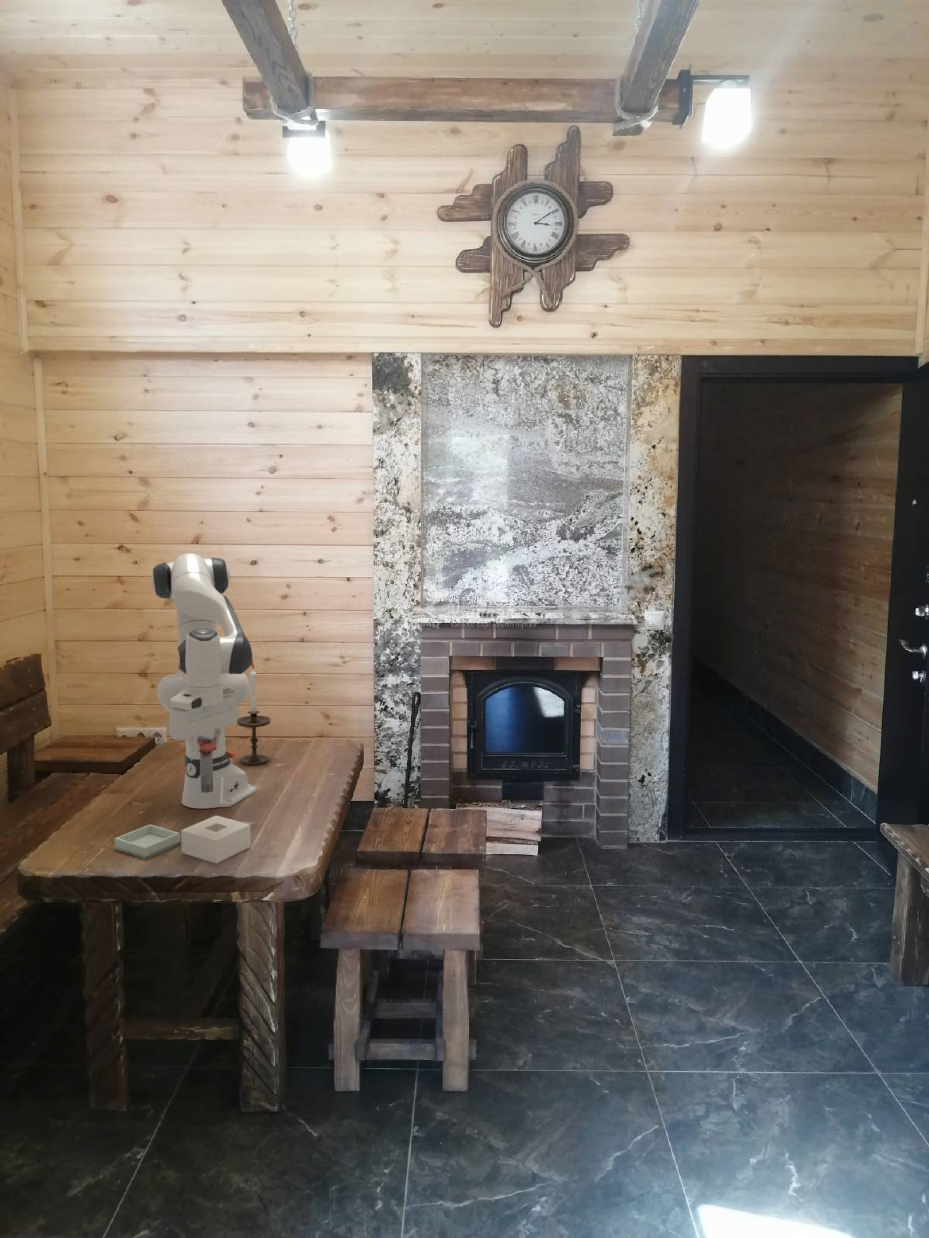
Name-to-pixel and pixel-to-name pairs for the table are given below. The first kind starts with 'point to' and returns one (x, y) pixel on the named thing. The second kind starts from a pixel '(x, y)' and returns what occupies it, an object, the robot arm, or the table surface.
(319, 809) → the table surface
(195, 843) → the block
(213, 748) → the red disc rod
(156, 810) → the table surface
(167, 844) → the tray
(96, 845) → the table surface
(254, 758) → the candlestick
